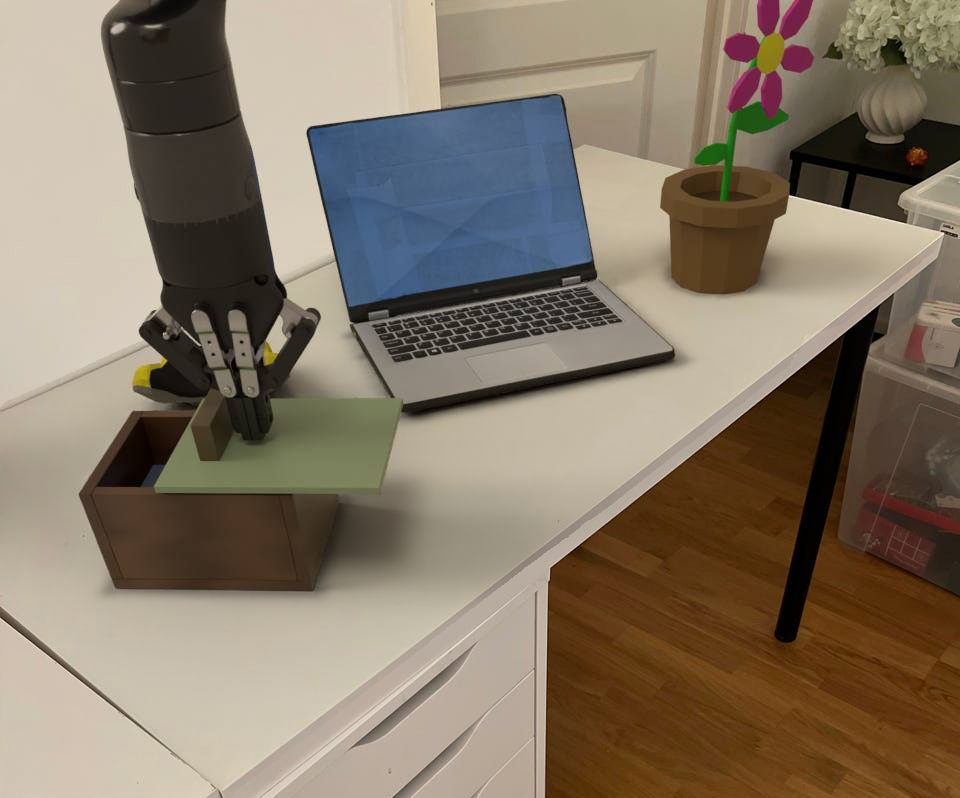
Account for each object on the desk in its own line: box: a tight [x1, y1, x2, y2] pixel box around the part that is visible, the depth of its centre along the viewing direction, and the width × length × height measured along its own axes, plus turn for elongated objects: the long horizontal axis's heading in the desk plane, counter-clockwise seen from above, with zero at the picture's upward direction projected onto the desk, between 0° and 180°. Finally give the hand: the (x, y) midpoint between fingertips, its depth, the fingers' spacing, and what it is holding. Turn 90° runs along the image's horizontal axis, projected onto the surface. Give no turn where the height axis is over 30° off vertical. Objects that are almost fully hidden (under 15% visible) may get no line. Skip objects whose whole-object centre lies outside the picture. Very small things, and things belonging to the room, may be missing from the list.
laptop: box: [305, 93, 676, 414], centre depth 102 cm, size 30×32×18 cm
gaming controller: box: [131, 339, 291, 407], centre depth 97 cm, size 15×6×10 cm
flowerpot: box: [659, 0, 815, 295], centre depth 105 cm, size 14×14×30 cm
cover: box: [154, 388, 403, 495], centre depth 72 cm, size 16×13×4 cm
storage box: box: [78, 410, 340, 592], centre depth 77 cm, size 16×12×9 cm
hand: (255, 434), depth 73 cm, fingers closed
